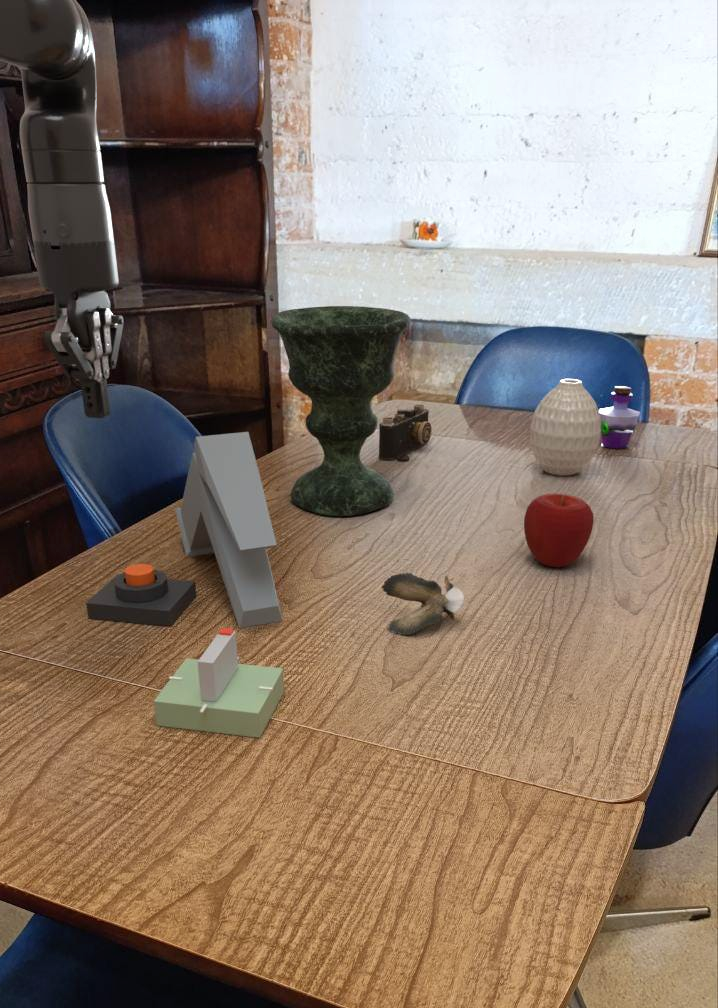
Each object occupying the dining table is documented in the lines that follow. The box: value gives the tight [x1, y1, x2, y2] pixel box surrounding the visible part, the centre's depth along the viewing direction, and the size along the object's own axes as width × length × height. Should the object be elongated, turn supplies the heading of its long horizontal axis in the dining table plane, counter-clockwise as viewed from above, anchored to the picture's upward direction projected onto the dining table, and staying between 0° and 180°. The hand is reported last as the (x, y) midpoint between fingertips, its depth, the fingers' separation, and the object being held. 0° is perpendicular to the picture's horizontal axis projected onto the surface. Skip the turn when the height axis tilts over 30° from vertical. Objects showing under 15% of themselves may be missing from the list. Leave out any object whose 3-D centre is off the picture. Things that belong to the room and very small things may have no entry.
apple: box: [523, 493, 595, 568], centre depth 125 cm, size 10×10×10 cm
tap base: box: [153, 656, 285, 739], centre depth 91 cm, size 11×11×3 cm
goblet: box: [270, 305, 412, 517], centre depth 144 cm, size 22×23×30 cm
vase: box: [529, 378, 602, 477], centre depth 162 cm, size 13×13×17 cm
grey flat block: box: [198, 627, 239, 702], centre depth 90 cm, size 7×2×5 cm, turn 168°
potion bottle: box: [598, 385, 641, 451], centre depth 178 cm, size 9×9×12 cm
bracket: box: [174, 431, 283, 629], centre depth 117 cm, size 8×27×25 cm
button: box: [124, 563, 155, 586], centre depth 111 cm, size 4×4×2 cm
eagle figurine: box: [381, 572, 465, 636], centre depth 108 cm, size 8×7×9 cm
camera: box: [378, 404, 433, 462], centre depth 175 cm, size 16×7×8 cm, turn 148°
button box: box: [85, 569, 197, 627], centre depth 112 cm, size 11×9×4 cm
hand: (98, 416), depth 93 cm, fingers closed
